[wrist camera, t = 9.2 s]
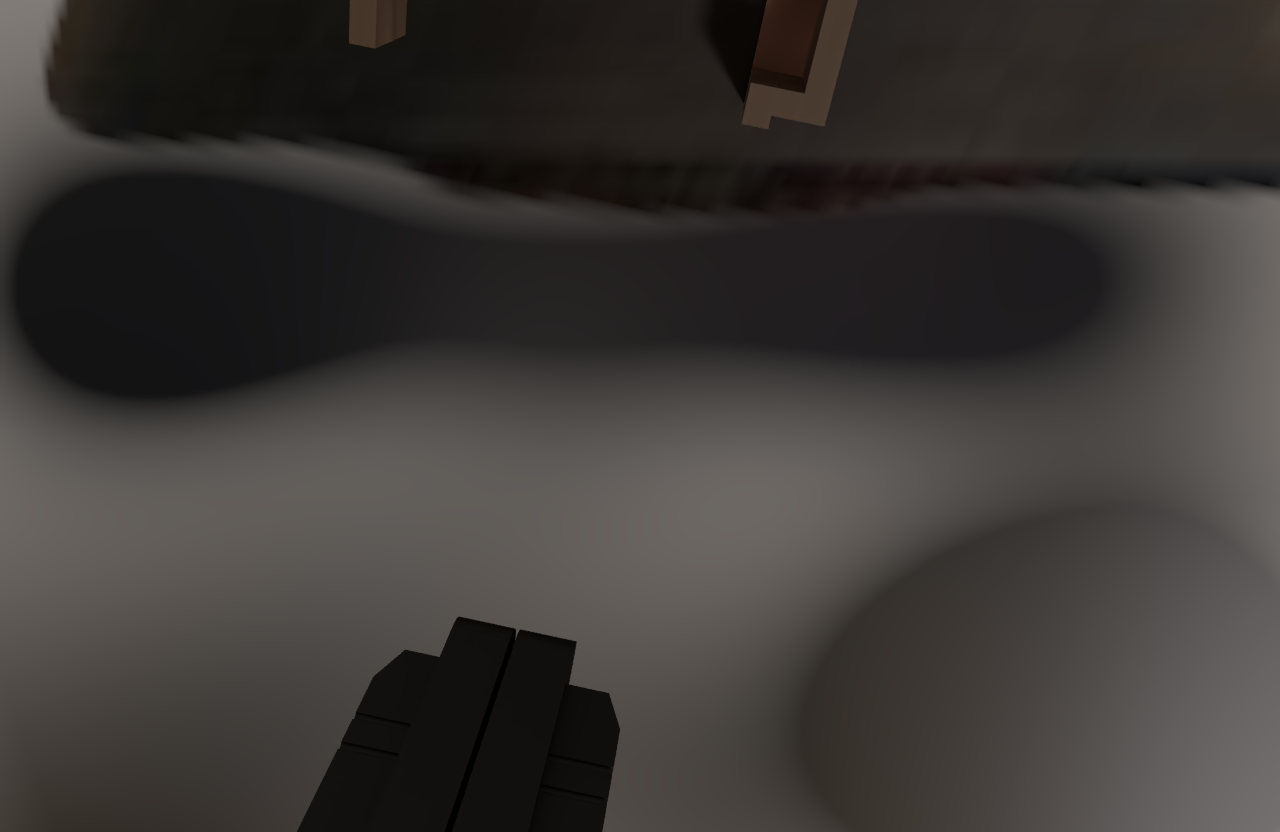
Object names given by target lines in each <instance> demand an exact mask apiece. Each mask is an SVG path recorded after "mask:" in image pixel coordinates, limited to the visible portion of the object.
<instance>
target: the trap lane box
mask: <svg viewBox="0 0 1280 832" xmlns="http://www.w3.org/2000/svg"><path fill="white" fill-rule="evenodd" d="M857 1H858V0H767V2H766V7H765V11H764V16H763V20H762V25H761V29H760V34H759V38H758V43H757V47H756V52H755V56H754V61H753V65H752V70H751V74H750V79H749V83H748V88H747V92H746V97H745V101H744V108H743V116H742V124H745V125H750V126H755V127H760V128H765V129H768V127H769V123H770V119H771V116H775V117H780V118H785V119H790V120H795V121H800V122H805V123H810V124H814V125H819V126H825V122H826V118H827V115H828V111H829V107H830V103H831V100H832V96H833V92H834V88H835V84H836V81H837V77H838V73H839V69H840V66H841V62H842V58H843V54H844V50H845V47H846V43H847V39H848V35H849V32H850V28H851V24H852V20H853V17H854V13H855V9H856V5H857ZM406 13H407V0H350V29H349V43H351V44H356V45H361V46H366V47H371V48H377V47H379V46H382V45H384V44H386V43H388V42H391V41H393V40H395V39H397V38H400V37H402V36H404V35H405V33H406Z"/></svg>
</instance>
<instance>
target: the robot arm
mask: <svg viewBox="0 0 1280 832" xmlns="http://www.w3.org/2000/svg"><path fill="white" fill-rule="evenodd" d="M515 638H516V640H515ZM576 643H577V642H576V641H572V640H567V639H563V638H557V637H553V636H549V635H544V634H539V633H535V632H530V631H525V630H519V632H518V635H517V637H516V629H514V628H510V627H505V626H501V625H496V624H491V623H486V622H482V621H477V620H472V619H468V618H463V617H458V618H457V619H456V621H455V623H454V625H453V627H452V629H451V632H450V634H449V636H448V639H447V641H446V643H445V646H444V648H443V651H442V653H441V655H440V657H437V656H432V655H427V654H423V653H418V652H413V651H409V650H404V651H403V652H402V653H401V654H400V655H398V657H396V658H395V659H394V660H393V661H391V662H390V663H389V664H388V665H387V666H385V667H384V668H383V669H382V670H381V671H380V672H378V673H377V674H376V675H375V676H374V677H373V679H372V681H371V683H370V685H369V687H368V689H367V691H366V693H365V695H364V697H363V699H362V701H361V703H360V705H359V707H358V709H357V711H356V715H355V718H354V719H352V721H351V723H350V725H349V727H348V729H347V731H346V733H345V736H344V737H343V739H342V742H341V746H340V749H338V750H337V752H336V754H335V756H334V758H333V760H332V762H331V764H330V766H329V768H328V770H327V772H326V774H325V776H324V778H323V780H322V782H321V784H320V786H319V788H318V790H317V792H316V794H315V796H314V799H313V800H312V802H311V804H310V806H309V808H308V810H307V812H306V814H305V816H304V818H303V821H302V822H301V825H300V827H299V829H298V831H297V832H602V830H603V824H604V818H605V813H606V806H607V801H608V796H609V790H610V784H611V778H612V772H613V767H614V761H615V756H616V750H617V744H618V739H619V732H620V728H619V725H618V721H617V718H616V715H615V711H614V708H613V705H612V702H611V698H610V695H609V693H606V692H601V691H596V690H592V689H587V688H582V687H578V686H573V685H569V682H570V675H571V671H572V666H573V660H574V655H575V649H576Z"/></svg>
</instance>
